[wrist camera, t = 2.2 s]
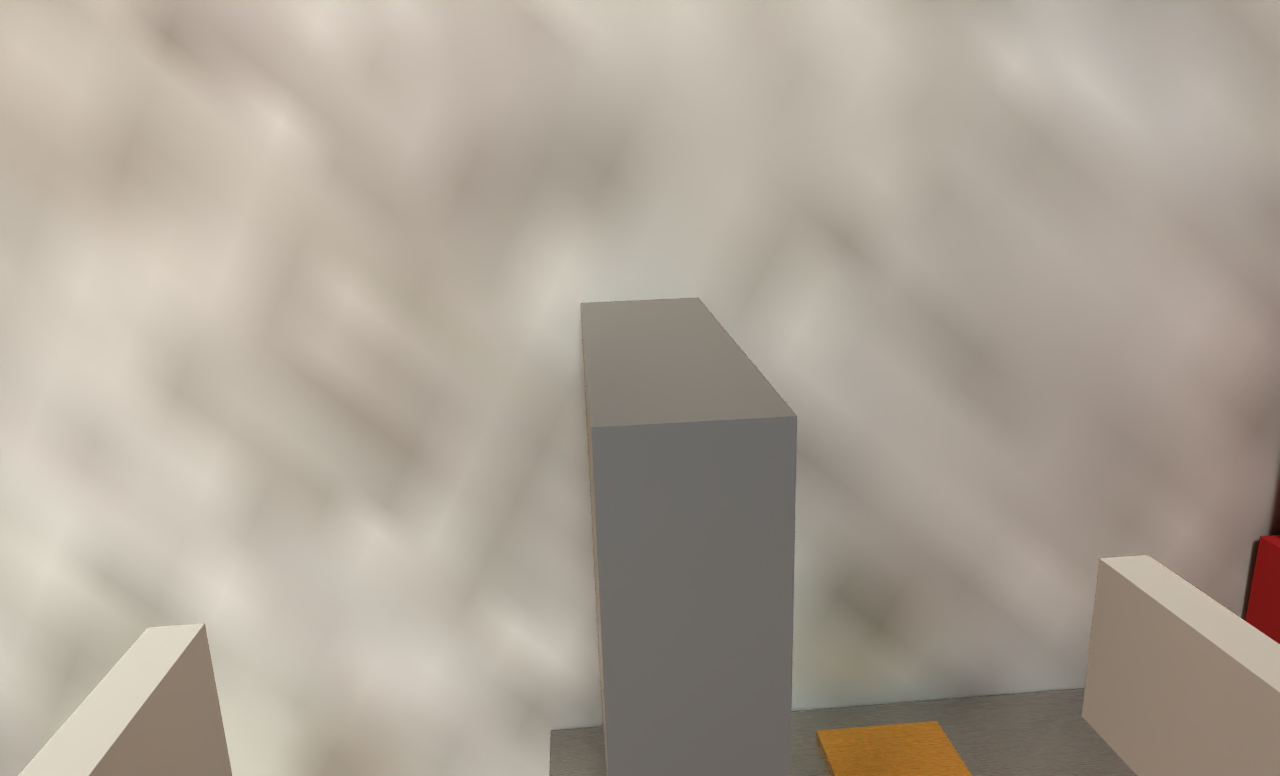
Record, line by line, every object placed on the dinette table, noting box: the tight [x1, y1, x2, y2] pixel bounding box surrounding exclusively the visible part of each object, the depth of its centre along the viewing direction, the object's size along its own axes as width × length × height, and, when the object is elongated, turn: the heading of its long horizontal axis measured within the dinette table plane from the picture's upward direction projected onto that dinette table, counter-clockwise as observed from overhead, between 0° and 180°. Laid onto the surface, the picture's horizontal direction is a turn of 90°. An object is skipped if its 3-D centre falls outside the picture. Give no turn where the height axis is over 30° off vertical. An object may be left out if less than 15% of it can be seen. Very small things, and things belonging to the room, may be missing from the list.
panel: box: [581, 298, 797, 776], centre depth 15 cm, size 8×2×8 cm, turn 2°
